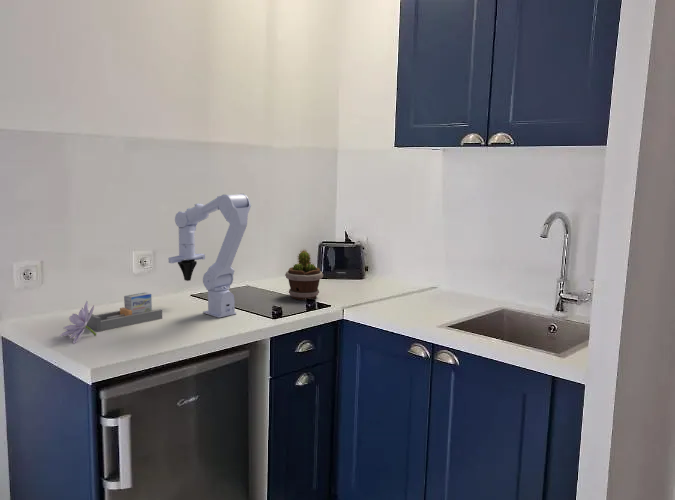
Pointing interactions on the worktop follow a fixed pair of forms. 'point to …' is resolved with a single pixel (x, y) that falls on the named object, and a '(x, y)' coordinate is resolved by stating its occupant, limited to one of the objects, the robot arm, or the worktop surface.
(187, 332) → the worktop surface
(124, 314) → the pusher
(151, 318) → the gray tray
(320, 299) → the worktop surface
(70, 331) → the water lily
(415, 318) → the worktop surface
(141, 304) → the medicine box
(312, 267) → the flowerpot
